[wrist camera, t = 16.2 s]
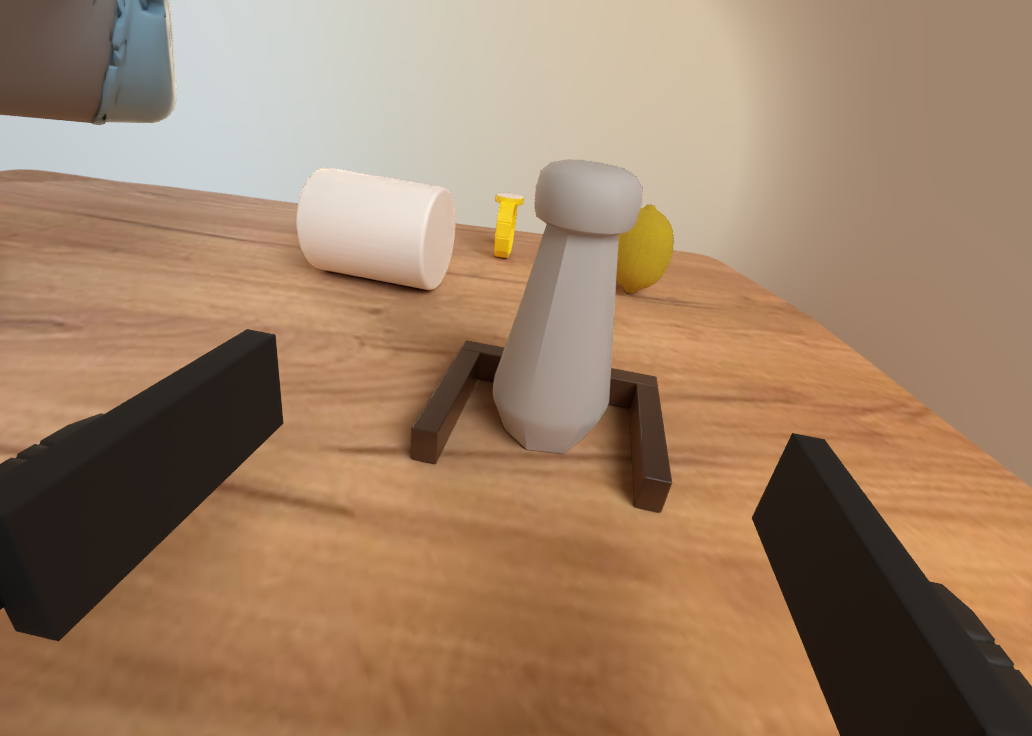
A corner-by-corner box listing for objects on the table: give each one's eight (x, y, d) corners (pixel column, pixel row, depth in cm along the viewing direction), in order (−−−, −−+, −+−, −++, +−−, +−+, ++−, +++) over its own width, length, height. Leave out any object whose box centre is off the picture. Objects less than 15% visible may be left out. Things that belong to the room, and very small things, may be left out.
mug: (420, 305, 38) (424, 196, 34) (300, 281, 39) (289, 173, 35) (465, 261, 48) (472, 174, 44) (369, 243, 49) (367, 157, 45)
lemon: (654, 310, 43) (680, 216, 39) (592, 294, 44) (612, 202, 40) (663, 292, 47) (688, 206, 43) (607, 278, 49) (626, 194, 45)
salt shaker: (472, 446, 24) (501, 158, 18) (504, 388, 29) (536, 147, 22) (592, 478, 23) (668, 186, 17) (604, 412, 28) (666, 167, 22)
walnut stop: (410, 459, 23) (411, 427, 22) (463, 365, 31) (465, 339, 30) (661, 513, 22) (672, 482, 21) (648, 402, 30) (656, 376, 29)
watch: (513, 265, 49) (520, 203, 46) (485, 261, 49) (491, 199, 46) (518, 248, 54) (526, 192, 51) (493, 245, 54) (499, 188, 51)
